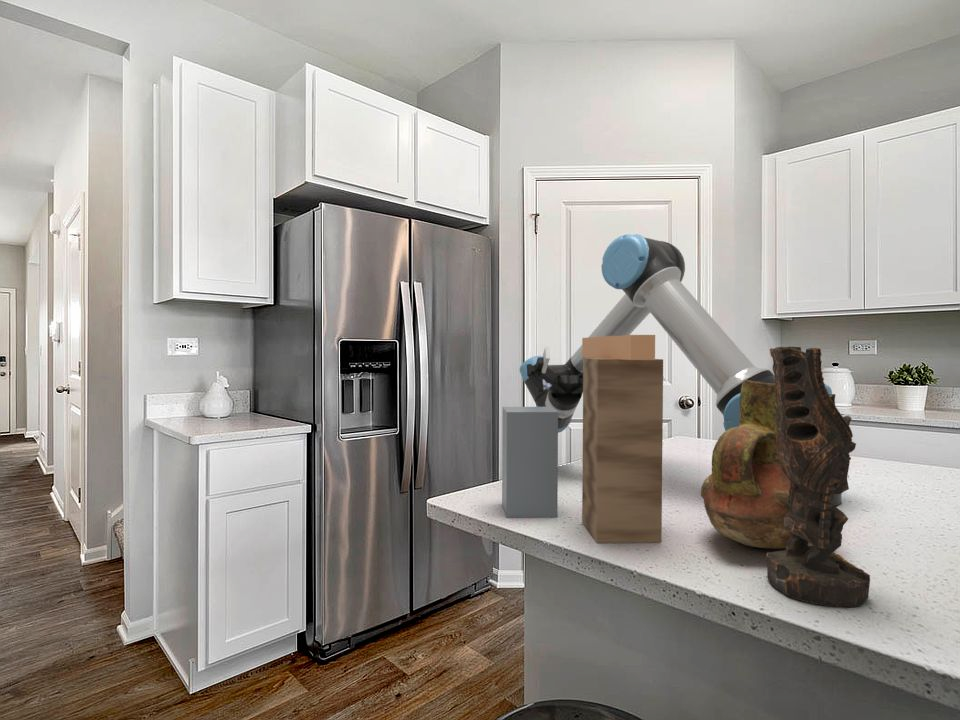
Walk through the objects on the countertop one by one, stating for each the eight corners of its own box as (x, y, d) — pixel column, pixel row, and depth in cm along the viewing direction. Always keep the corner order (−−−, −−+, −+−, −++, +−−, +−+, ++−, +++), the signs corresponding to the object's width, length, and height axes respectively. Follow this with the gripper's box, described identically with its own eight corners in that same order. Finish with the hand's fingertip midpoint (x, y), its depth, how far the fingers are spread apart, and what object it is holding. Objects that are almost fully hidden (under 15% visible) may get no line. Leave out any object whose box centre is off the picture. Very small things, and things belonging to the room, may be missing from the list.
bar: (582, 357, 106) (582, 337, 106) (601, 357, 106) (601, 337, 106) (630, 360, 81) (630, 334, 81) (655, 360, 81) (655, 334, 81)
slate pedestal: (502, 503, 108) (502, 406, 108) (549, 503, 109) (549, 406, 108) (506, 517, 99) (506, 412, 99) (557, 517, 100) (558, 412, 99)
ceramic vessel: (856, 537, 89) (858, 378, 89) (792, 582, 72) (795, 386, 72) (745, 513, 102) (747, 374, 102) (669, 547, 85) (671, 380, 84)
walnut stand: (582, 522, 97) (583, 358, 96) (640, 522, 97) (641, 358, 96) (596, 543, 87) (598, 359, 86) (661, 542, 87) (663, 359, 86)
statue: (882, 612, 64) (887, 346, 63) (782, 603, 66) (785, 346, 66) (843, 576, 74) (847, 346, 74) (757, 569, 76) (760, 346, 76)
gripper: (618, 411, 132) (644, 369, 114) (511, 411, 131) (520, 368, 113) (614, 382, 136) (639, 337, 117) (510, 382, 135) (518, 336, 116)
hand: (581, 352), depth 115 cm, fingers open, 13 cm apart
